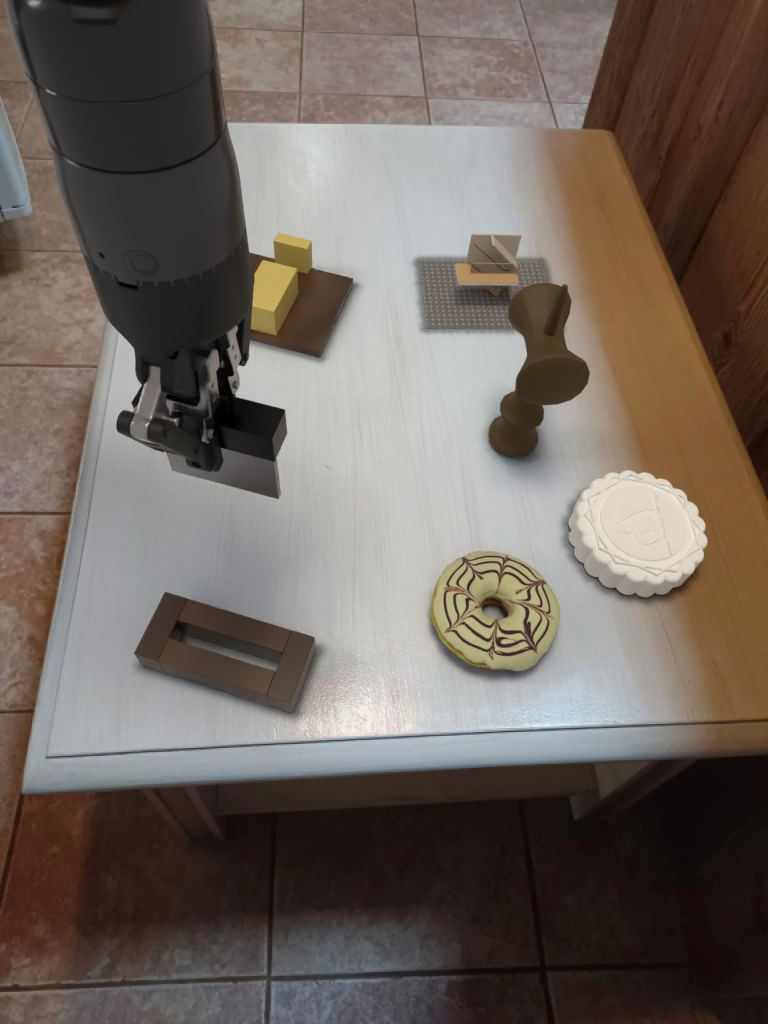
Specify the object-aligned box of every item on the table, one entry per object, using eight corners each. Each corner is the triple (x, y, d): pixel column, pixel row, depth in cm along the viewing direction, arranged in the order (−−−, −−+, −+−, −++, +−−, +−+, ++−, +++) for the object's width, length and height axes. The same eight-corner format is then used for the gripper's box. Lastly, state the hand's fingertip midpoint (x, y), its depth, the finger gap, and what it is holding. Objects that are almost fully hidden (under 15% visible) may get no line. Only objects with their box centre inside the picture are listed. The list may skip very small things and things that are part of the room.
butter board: (197, 325, 79) (196, 318, 78) (240, 256, 85) (239, 249, 84) (319, 357, 78) (319, 351, 77) (353, 285, 84) (353, 278, 83)
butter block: (241, 327, 78) (237, 302, 75) (265, 284, 81) (262, 259, 78) (276, 336, 78) (274, 311, 75) (298, 293, 81) (297, 268, 78)
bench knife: (159, 480, 51) (130, 402, 44) (173, 453, 52) (147, 374, 45) (281, 512, 50) (271, 439, 43) (292, 484, 51) (285, 409, 44)
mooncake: (557, 486, 71) (567, 465, 68) (676, 486, 72) (691, 465, 68) (579, 599, 64) (591, 581, 61) (709, 597, 65) (727, 580, 62)
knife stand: (142, 666, 59) (133, 653, 56) (171, 606, 62) (164, 591, 59) (292, 713, 58) (290, 702, 55) (315, 650, 61) (315, 637, 58)
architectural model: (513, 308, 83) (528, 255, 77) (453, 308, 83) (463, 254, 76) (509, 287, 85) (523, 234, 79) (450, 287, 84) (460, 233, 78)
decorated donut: (543, 693, 60) (554, 678, 57) (417, 660, 61) (421, 644, 57) (558, 582, 65) (569, 564, 62) (442, 554, 66) (447, 533, 63)
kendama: (486, 478, 71) (535, 328, 54) (478, 401, 76) (520, 242, 59) (547, 479, 71) (614, 330, 54) (535, 403, 76) (593, 245, 59)
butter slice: (275, 266, 83) (273, 240, 80) (279, 257, 84) (277, 232, 81) (308, 274, 83) (307, 249, 80) (312, 265, 84) (311, 240, 81)
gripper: (150, 119, 37) (203, 358, 51) (2, 302, 29) (113, 519, 44) (290, 150, 36) (303, 384, 51) (174, 345, 29) (229, 551, 44)
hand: (215, 446), depth 47 cm, fingers closed on bench knife, 2 cm apart
